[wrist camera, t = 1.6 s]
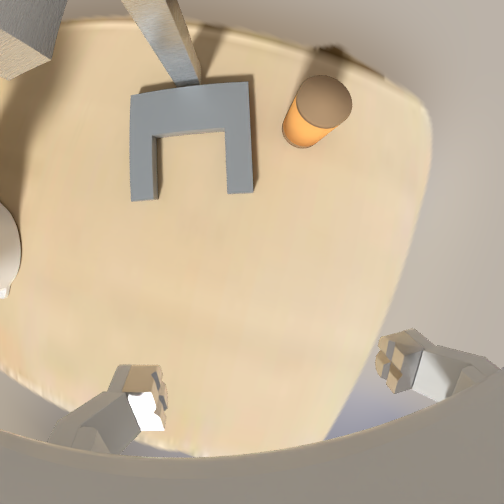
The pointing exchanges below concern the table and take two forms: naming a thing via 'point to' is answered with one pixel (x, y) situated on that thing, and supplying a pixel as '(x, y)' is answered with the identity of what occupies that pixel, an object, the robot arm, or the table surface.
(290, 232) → the table surface
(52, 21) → the hook stand
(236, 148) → the grey u-shaped bracket
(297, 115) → the orange brown canister
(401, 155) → the table surface
